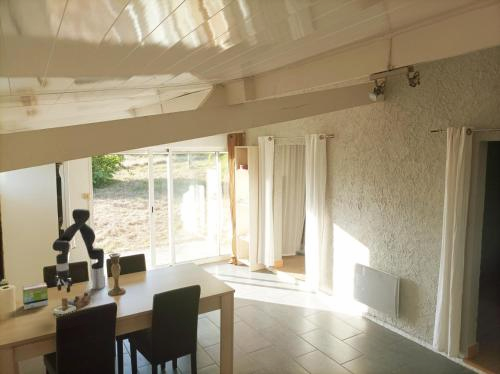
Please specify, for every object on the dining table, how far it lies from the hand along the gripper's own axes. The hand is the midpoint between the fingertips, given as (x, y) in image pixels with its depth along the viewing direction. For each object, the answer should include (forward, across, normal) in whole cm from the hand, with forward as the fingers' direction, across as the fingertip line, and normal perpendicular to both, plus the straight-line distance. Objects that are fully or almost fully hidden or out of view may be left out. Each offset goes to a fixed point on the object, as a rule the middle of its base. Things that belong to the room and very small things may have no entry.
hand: (64, 291), depth 254 cm
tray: (+15, 0, 0) cm, 15 cm away
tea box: (+15, +30, 0) cm, 33 cm away
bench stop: (+15, -2, -13) cm, 20 cm away
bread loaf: (+14, 0, 0) cm, 14 cm away
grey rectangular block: (+15, +3, -13) cm, 20 cm away
